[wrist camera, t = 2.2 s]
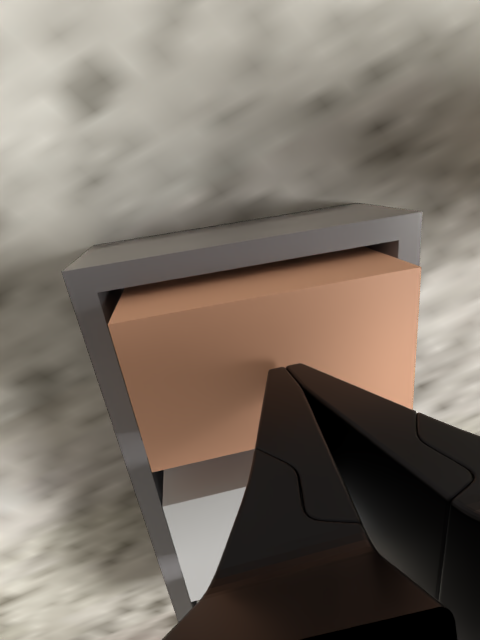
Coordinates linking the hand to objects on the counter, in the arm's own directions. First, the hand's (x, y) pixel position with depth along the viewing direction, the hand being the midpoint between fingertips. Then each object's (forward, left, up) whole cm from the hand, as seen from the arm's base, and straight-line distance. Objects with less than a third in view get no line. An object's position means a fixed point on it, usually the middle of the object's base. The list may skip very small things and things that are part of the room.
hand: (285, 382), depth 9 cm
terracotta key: (0, 0, -3) cm, 3 cm away
